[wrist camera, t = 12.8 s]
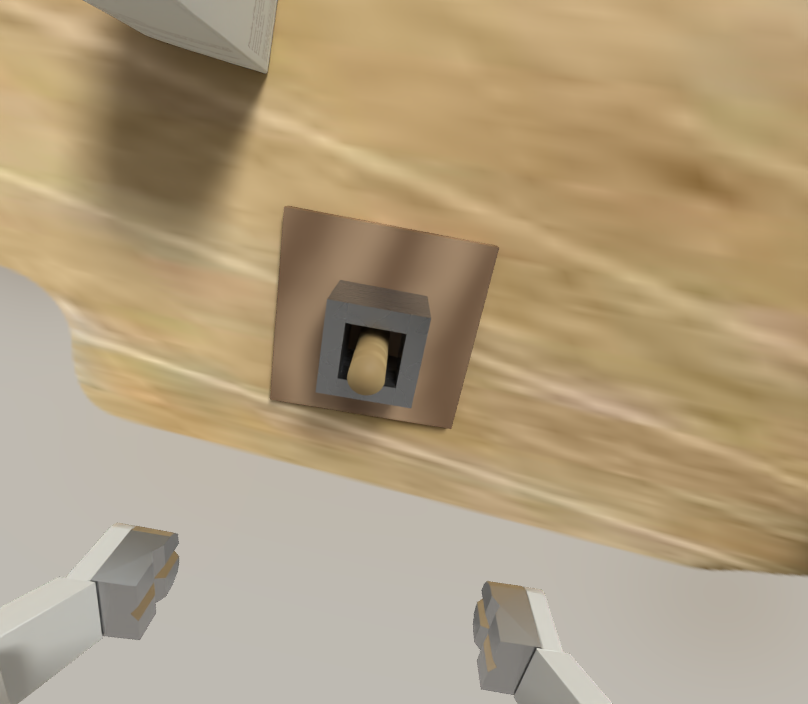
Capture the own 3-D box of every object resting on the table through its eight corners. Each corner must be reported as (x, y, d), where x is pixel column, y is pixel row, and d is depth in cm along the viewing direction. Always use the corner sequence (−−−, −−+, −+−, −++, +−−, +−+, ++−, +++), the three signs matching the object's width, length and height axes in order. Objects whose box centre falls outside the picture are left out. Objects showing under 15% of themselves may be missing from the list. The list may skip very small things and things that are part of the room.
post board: (496, 245, 28) (533, 272, 20) (450, 422, 34) (464, 501, 25) (288, 205, 28) (236, 216, 19) (273, 393, 33) (228, 465, 24)
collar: (427, 295, 29) (431, 318, 24) (410, 374, 31) (411, 408, 26) (340, 279, 28) (327, 299, 24) (329, 360, 31) (315, 392, 26)
